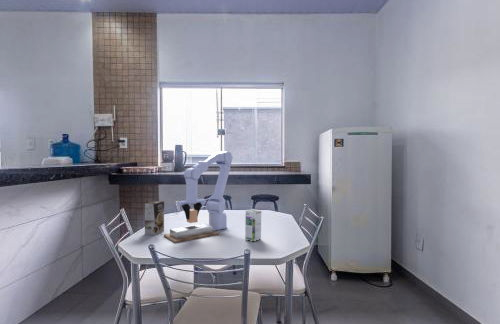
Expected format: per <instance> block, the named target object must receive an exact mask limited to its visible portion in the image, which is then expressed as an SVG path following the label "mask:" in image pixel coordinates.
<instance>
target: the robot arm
mask: <svg viewBox="0 0 500 324" xmlns="http://www.w3.org/2000/svg"><path fill="white" fill-rule="evenodd" d="M233 158H234V157H233V155H232V152H231V151H229V150H227V151H226V150H223V151H218V150H217V151H214V152H213V153H212V154H211V155H210V156H209V157H207V158H206V159H205V160H198V161H197V162H198V163H196V164H194V165H192V166H191V167H190V168H189V167H188V168H186V169H185V171H184V173H183V177H184V179H185V180H184V181H185V184H186V185H185V192H186V193H185V195H186V196H185V200H180V201H177V206H178V207H182V209H183V212H184V214H185V215H184V216H185V219H186V220H187V219H189V212H190V210H191V206H190V205H193V209H195V210H198V215H199V214H200V213H199V212H200V211H201V210H202V209H201V208H202V207H203V204H205V208H206V211H208V225H211V226H213V230H214V231H219V230H224V229H227V228H228V227H227V221H228V218H227V214H226V212H225V209H226V199H225V198H224V193H225V189H226V185H227V183H228V182H227V181H228V178H229V176H230V175H229V174H230V170H231V165H232V161H233ZM214 163H215V164H216V165H217V166H218V167H219V173H218V176H217V177H218V178H217V180H216V184H215V188H214V191H213V194H212V195H210V196H209V198H208V200H207V202H206V199H205V198H200V199H199V197H198V194H199V189H198V183H199V179H200V177H201V175H202V174H203V173H205V172H206V171H208V169H209V167H210V166H211V165H213V164H214Z"/></svg>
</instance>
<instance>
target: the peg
mask: <svg viewBox="0 0 500 324" xmlns="http://www.w3.org/2000/svg"><path fill="white" fill-rule="evenodd" d="M198 217H199V214H198V210H195V209H194V208H193V209H191V208H190V212H189V219H186V222H187V223H189V224H194V223H198V220H199V219H198Z"/></svg>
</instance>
